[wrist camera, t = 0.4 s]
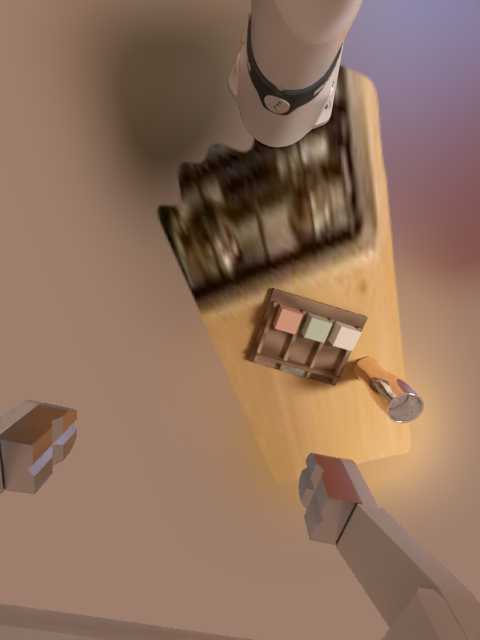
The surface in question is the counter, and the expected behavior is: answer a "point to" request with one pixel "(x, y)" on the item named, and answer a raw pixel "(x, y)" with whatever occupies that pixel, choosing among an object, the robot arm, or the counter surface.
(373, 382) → the beer glass
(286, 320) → the salmon pink cube
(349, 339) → the pale pink cube
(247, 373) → the counter surface
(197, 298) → the counter surface
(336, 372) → the brown compartment tray
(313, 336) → the sage green cube
